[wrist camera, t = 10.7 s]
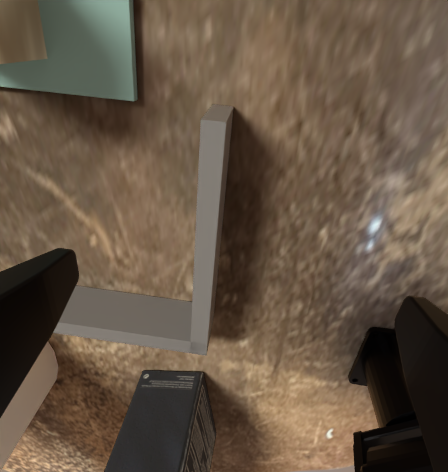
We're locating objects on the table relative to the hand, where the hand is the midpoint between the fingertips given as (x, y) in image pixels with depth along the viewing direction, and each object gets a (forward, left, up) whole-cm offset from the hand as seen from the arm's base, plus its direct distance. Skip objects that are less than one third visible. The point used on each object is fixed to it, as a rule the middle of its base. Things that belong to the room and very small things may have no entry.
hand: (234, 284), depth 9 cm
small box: (-27, +4, -13) cm, 30 cm away
